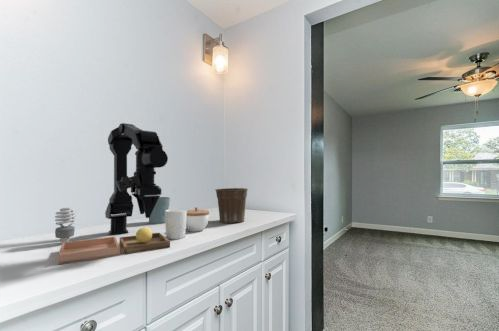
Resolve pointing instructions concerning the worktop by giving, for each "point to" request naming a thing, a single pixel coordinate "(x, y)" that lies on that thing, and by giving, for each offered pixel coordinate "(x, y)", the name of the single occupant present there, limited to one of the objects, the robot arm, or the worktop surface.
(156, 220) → the teal cup
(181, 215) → the white cup
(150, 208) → the robot arm
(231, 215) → the plant pot
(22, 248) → the worktop surface
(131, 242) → the tray
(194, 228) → the lidded jar
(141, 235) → the ball
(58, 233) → the light bulb
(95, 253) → the dish
